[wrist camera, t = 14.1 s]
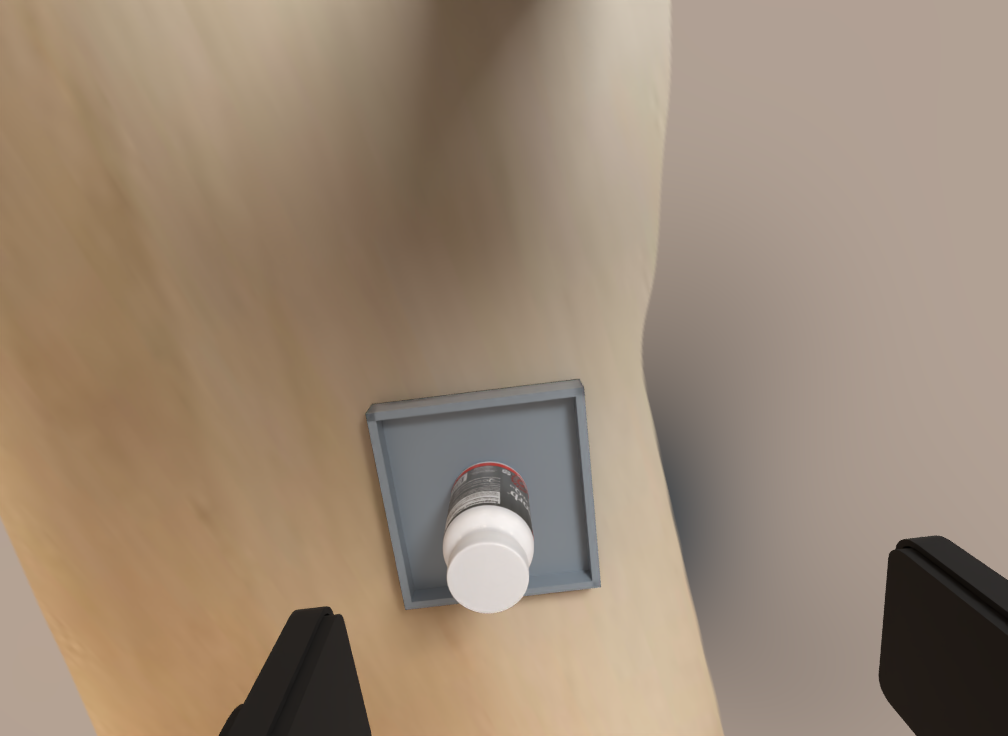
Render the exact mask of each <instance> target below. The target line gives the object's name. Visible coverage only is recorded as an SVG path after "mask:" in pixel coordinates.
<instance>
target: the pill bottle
mask: <svg viewBox="0 0 1008 736" xmlns="http://www.w3.org/2000/svg"><path fill="white" fill-rule="evenodd" d="M533 554H534V537H533V530H532V522H531V513H530V504H529V495H528V490H527V487H526V484H525V482H524V480H523V478H522V477H521V476H520V475H519V473H518V472H516V471H515V470H514V469H513V468H511V467H509V466H508V465H505V464H503V463H499V462H493V461H488V462H480V463H477V464H474V465H472V466H470V467H468V468H467V469H465V470H464V471H463V472H462V473H461V474H460V475H459V476H458V478H457V479H456V481H455V483H454V485H453V488H452V491H451V497H450V502H449V509H448V515H447V521H446V527H445V532H444V537H443V555H444V560H445V563H446V565H447V584H448V587H449V590H450V592H451V594H452V596H453V597H454V598H455V599H456V601H457V602H459V603H460V604H461V605H462V606H464V607H465V608H467V609H469V610H472V611H475V612H479V613H498V612H502V611H504V610H507V609H509V608H510V607H512V606H514V605H515V604H516V603H517V602H519V601H520V599H521V598H522V597H523V595H524V594H525V592H526V590H527V587H528V583H529V566H530V564H531V561H532V558H533Z"/></svg>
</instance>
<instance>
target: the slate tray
mask: <svg viewBox="0 0 1008 736" xmlns="http://www.w3.org/2000/svg"><path fill="white" fill-rule="evenodd" d="M366 419H367V424H368V429H369V434H370V438H371V443H372V448H373V453H374V458H375V463H376V468H377V473H378V478H379V483H380V488H381V493H382V497H383V502H384V507H385V512H386V517H387V522H388V527H389V532H390V537H391V542H392V547H393V552H394V556H395V561H396V566H397V571H398V576H399V581H400V586H401V591H402V596H403V601H404V606H405V610H408V609H417V608H426V607H434V606H443V605H452V604H460V603H459V602H457V601H456V599H455V598H454V597H453V596H452V594H451V592H450V590H449V587H448V584H447V565H446V563H445V560H444V555H443V537H444V532H445V527H446V521H447V515H448V509H449V502H450V497H451V491H452V488H453V485H454V483H455V481H456V479H457V478H458V476H459V475H460V474H461V473H462V472H463V471H464V470H465V469H467V468H468V467H470V466H472V465H474V464H477V463H480V462H488V461H493V462H499V463H503V464H505V465H508V466H509V467H511V468H513V469H514V470H515V471H516V472H518V473H519V475H520V476H521V477H522V478H523V480H524V482H525V484H526V487H527V490H528V495H529V504H530V513H531V522H532V530H533V537H534V554H533V558H532V561H531V564H530V566H529V583H528V587H527V590H526V592H525V594H524V595H523V596H529V595H538V594H546V593H555V592H564V591H572V590H581V589H590V588H598V587H601V581H600V569H599V558H598V546H597V534H596V523H595V511H594V499H593V488H592V476H591V464H590V453H589V441H588V429H587V417H586V406H585V394H584V386H583V385H582V383H581V381H580V379H574V380H566V381H558V382H550V383H542V384H533V385H525V386H517V387H509V388H501V389H492V390H484V391H476V392H468V393H460V394H451V395H443V396H435V397H427V398H419V399H410V400H402V401H394V402H386V403H378V404H372V405H371V407H370V408H369V409H368V411H367V412H366Z"/></svg>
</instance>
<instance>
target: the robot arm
mask: <svg viewBox="0 0 1008 736" xmlns="http://www.w3.org/2000/svg"><path fill="white" fill-rule="evenodd" d="M879 682H880V686H881V689H882V691H883V694H884V695H885V697H886V699H887V700H888V702H889V703H890V704H891V706H892V707H893V708H894V709H895V711H896V712H897V713H898V714H899V715H900V717H901V718H902V719H903V720H904V721H905V723H906V724H907V725H908V726H909V727H910V729H911V730H912V731H913V732H914V733H915V735H916V736H1008V580H1007V579H1005V578H1004V577H1002V576H1001V575H999V574H998V573H997V572H995V571H994V570H992V569H991V568H989V567H988V566H986V565H985V564H983V563H982V562H981V561H979V560H978V559H976V558H975V557H973V556H972V555H970V554H969V553H967V552H966V551H964V550H963V549H961V548H960V547H959V546H957V545H956V544H954V543H953V542H951V541H950V540H948V539H946V538H944V537H942V536H928V537H919V538H910V539H904V540H901V541H899V542H898V544H897V545H896V549H895V550H893V551H891V552H890V554H889V558H888V569H887V581H886V593H885V605H884V617H883V629H882V642H881V654H880V666H879ZM219 736H372V735H371V730H370V726H369V722H368V718H367V713H366V709H365V705H364V701H363V697H362V693H361V689H360V684H359V680H358V676H357V672H356V668H355V664H354V660H353V655H352V651H351V647H350V643H349V639H348V635H347V631H346V626H345V622H344V619H343V617H342V615H340V614H336V615H334V614H333V611H332V609H331V608H330V607H327V606H326V607H317V608H309V609H300V610H295V611H294V612H293V613H292V614H291V615H290V617H289V619H288V621H287V623H286V625H285V626H284V628H283V630H282V632H281V634H280V636H279V638H278V640H277V642H276V644H275V645H274V647H273V649H272V651H271V653H270V655H269V657H268V659H267V661H266V662H265V664H264V666H263V668H262V670H261V672H260V674H259V676H258V678H257V680H256V681H255V683H254V685H253V687H252V689H251V691H250V693H249V695H248V697H247V698H246V700H245V702H244V704H241V705H239V706H238V707H237V708H236V709H234V711H233V712H232V714H231V715H230V716H229V718H228V719H227V721H226V723H225V725H224V727H223V729H222V730H221V732H220V734H219Z"/></svg>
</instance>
